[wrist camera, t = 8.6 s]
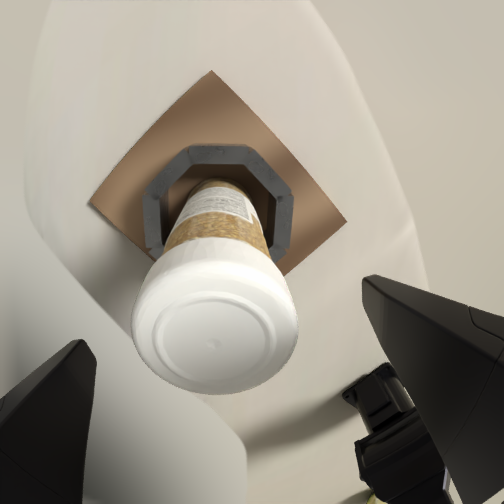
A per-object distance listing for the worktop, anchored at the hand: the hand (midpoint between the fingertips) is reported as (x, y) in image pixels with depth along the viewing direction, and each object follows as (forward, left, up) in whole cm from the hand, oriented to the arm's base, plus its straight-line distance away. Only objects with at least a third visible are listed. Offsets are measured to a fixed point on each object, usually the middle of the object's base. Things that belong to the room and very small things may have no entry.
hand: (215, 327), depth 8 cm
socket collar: (0, 0, -13) cm, 13 cm away
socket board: (0, 0, -13) cm, 13 cm away
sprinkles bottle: (0, 0, -12) cm, 13 cm away
